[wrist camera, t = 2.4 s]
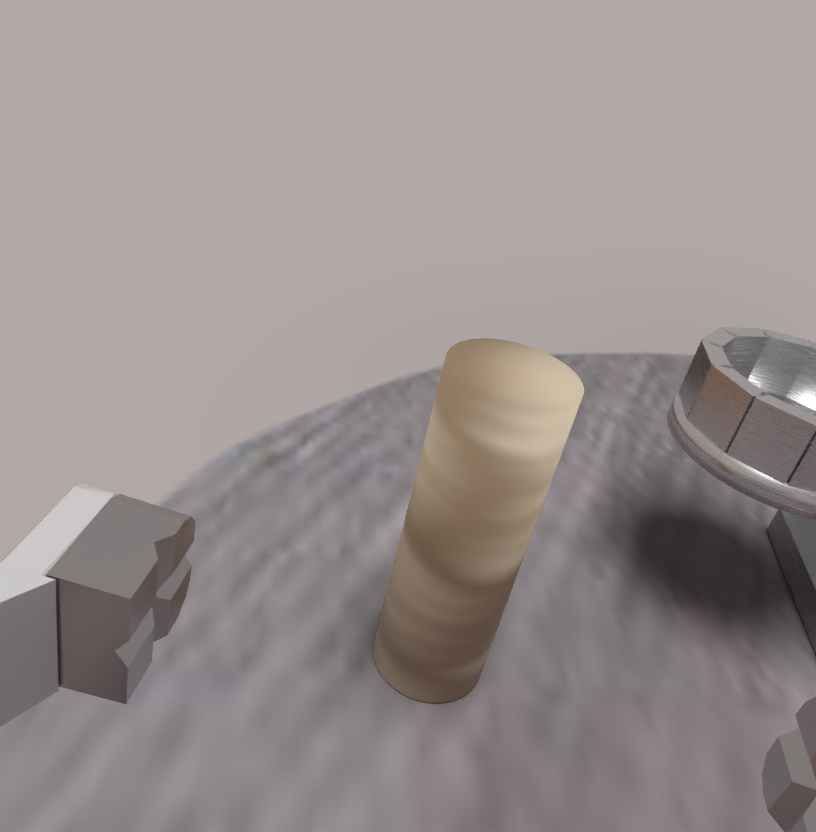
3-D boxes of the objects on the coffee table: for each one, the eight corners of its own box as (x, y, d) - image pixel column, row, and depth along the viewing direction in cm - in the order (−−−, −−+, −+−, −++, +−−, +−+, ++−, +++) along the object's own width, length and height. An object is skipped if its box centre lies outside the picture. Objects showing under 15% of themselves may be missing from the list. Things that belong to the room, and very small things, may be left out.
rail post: (484, 630, 29) (581, 359, 23) (476, 716, 26) (586, 425, 20) (384, 603, 29) (454, 327, 23) (362, 685, 26) (437, 386, 20)
